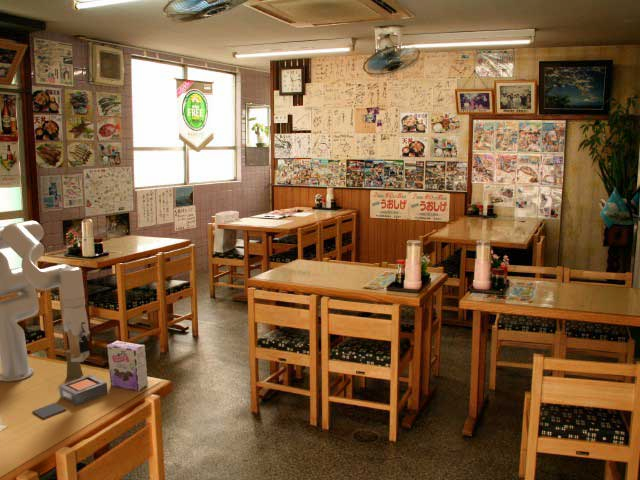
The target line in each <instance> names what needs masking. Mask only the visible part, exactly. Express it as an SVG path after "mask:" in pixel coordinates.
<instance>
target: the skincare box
mask: <svg viewBox="0 0 640 480" xmlns="http://www.w3.org/2000/svg"><path fill="white" fill-rule="evenodd" d="M67 331H68V337H67V339H69V341H68V348H69V347H70V348H69V350H70V355H71V362H80V363H83V362H84V361H85V360H86V359H87V358H88V357H90V350H89V351H86V352H83V353H80V347H79V342H80V340H79V335H77V336H75V335H72V331H71V330H70V329H68V330H67ZM80 333H83V331H82V332H80ZM81 336H82V337H83V336H84V334H83V335H81Z"/></svg>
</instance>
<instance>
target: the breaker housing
mask: <svg viewBox="0 0 640 480" xmlns="http://www.w3.org/2000/svg"><path fill="white" fill-rule="evenodd" d="M86 379H88V380H90V381H92V382H94V383H96V384H97V385H94V386H92V387H89V388H86V389H84V390H81V391H78V392H77V391H75V390H73V389H71V388H69V385H72V384H75V383H78V382H80V381H83V380H86ZM58 387H59V388H58V389H59V397H60V398H61V399H63V400H64V401H67V403H70V404H72V405H74V406H76V407H79V406H82V405H83V404H87V403H89V402H91V401H94V400H96V399H99V398H102V397H104V396H107V395H108V394H109V391H108V383H107V382H106V381H104V380H102V379H100V378H98V377H95V376H94V375H91V374H88V375H85V376H82V377H80V378H77V379H73V380H71V381H69V382H65V383H63V384H61V385H58Z"/></svg>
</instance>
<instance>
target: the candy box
mask: <svg viewBox="0 0 640 480" xmlns="http://www.w3.org/2000/svg"><path fill="white" fill-rule="evenodd" d="M106 349H107V350H106V351H107V359H108V368H109V370H108V371H109V380H110V386H111V387H115V386H116V387H117V388H120V387H121V389H125V388H126V389H125V390H129V389H130V390H131V391H134V390H135V392H139V391H142V390H143V389H145V388H147V387H148V386H149V383H148V370H147V358H146V355H147V354H146V345H145V344H139V343H133V342H126V341H120V340H116V341H114V342H113V341H112V343H109V344H106ZM116 387H115V388H116Z"/></svg>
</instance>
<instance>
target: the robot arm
mask: <svg viewBox="0 0 640 480" xmlns="http://www.w3.org/2000/svg"><path fill="white" fill-rule="evenodd" d="M44 235H45V233H44V228H43V226H42V225H41V224H40V223H39V222H37V221H36V220H26V221H21V222H13V223H10V224H7V225H5V226H4V225H3V226H0V250H3V249H4V250H5V249H10V248H11V250H13V251H14V252H15V253H16V254H17V255H18V257H19V258H21V267H17V268H16V267H15V268H10V264H9V260H8V258H7V257H6V255H5V254H4V253H3V252H1V251H0V297H5V296H9V295H13V294H17V293H18V295H17V296H11V297H9V298H4V299H2V300H0V366H1V372H0V381H1V382H6V383H7V382H10V383H11V382H17V381H22V380H25V379H26V378H29V377H31V376H32V375H33V374H34V373H35V372H34V370H35V369H34V368H32V367H31V366H29V359H28V351H27V343H26V342H27V341H26V336H25V330H24V329H23V327H21V326H20V325H19V324H18V322H19V321H22V320H24V319H28V318H31V317H34V316H35V315H37V314H38V313H39V310H40V304H39V303H40V302H39V299H38V295H37V294H38V293H37V291H36V289H37V290H39V291H46V290H50V289H54V288H57V287H60V293H61V302H62V303H61V304H62V326H63V327H62V328H63V331H64V332H65V333H66V335H67V339H68V331H67V330H68V329H70V330H71V331H72V335H75V336H77V335H79V340H80V342H79V347H80V353H83V352H86V351H89V352H90V346H89V345H90V343H89V340H90V339H89V338H90V335H91V331H90V330H89V319H88V315H87V311H86V310H87V309H86V306H85V305H86V298H85V296H86V295H85V287H84V281H83V271H82V269H81V268H80V267H78V266H70V265H69V264H66V263H62V264H61V263H60V264H57V265H53V266H52V265H51V266H47V267H44V268H41V269H40V268H39V267H38V266H37V265H36V264H35V263H36V262H37V261H39V260H40V258H41V257H42V256H43V255H44V253H45V247H44V244H42V242H41V241H42V239H43V238H44ZM82 331H83V333H80V332H82ZM83 334H84V336H83V337H82V336H81V335H83ZM67 341H68V342H69V339H68V340H67ZM68 348H69V349H70V347H69V346H68Z"/></svg>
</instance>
